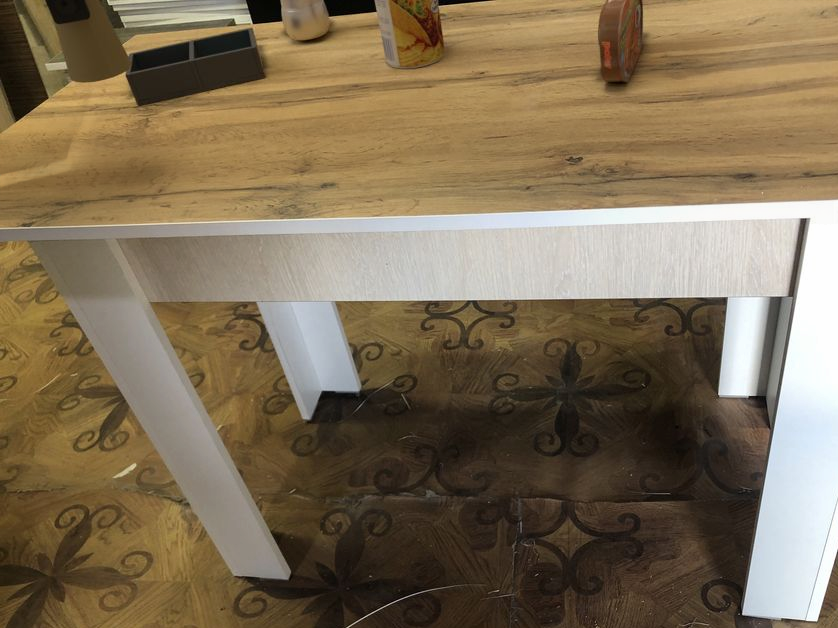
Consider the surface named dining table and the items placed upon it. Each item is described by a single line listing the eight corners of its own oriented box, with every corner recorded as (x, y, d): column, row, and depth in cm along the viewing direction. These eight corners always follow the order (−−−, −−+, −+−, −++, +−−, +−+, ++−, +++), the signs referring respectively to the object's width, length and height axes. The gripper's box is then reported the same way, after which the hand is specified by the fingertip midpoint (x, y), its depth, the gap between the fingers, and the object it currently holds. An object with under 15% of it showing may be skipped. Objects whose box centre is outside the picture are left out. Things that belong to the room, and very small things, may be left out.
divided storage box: (137, 106, 101) (125, 75, 98) (140, 83, 107) (128, 53, 104) (265, 77, 103) (256, 46, 100) (260, 56, 109) (252, 27, 107)
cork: (69, 68, 79) (18, -49, 72) (129, 54, 80) (85, -62, 73) (70, 87, 75) (16, -36, 67) (134, 72, 76) (88, -49, 69)
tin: (623, 94, 85) (623, 15, 80) (594, 94, 86) (593, 16, 81) (644, 43, 96) (646, -30, 90) (619, 43, 97) (619, -29, 91)
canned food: (456, 54, 101) (443, -45, 93) (405, 73, 98) (387, -28, 90) (424, 41, 106) (410, -55, 98) (375, 59, 103) (356, -38, 95)
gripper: (-44, -223, 68) (48, -5, 80) (-98, -210, 55) (22, 47, 67) (45, -235, 69) (123, -18, 81) (12, -224, 56) (111, 31, 68)
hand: (76, 9), depth 74 cm, fingers closed on cork, 5 cm apart
